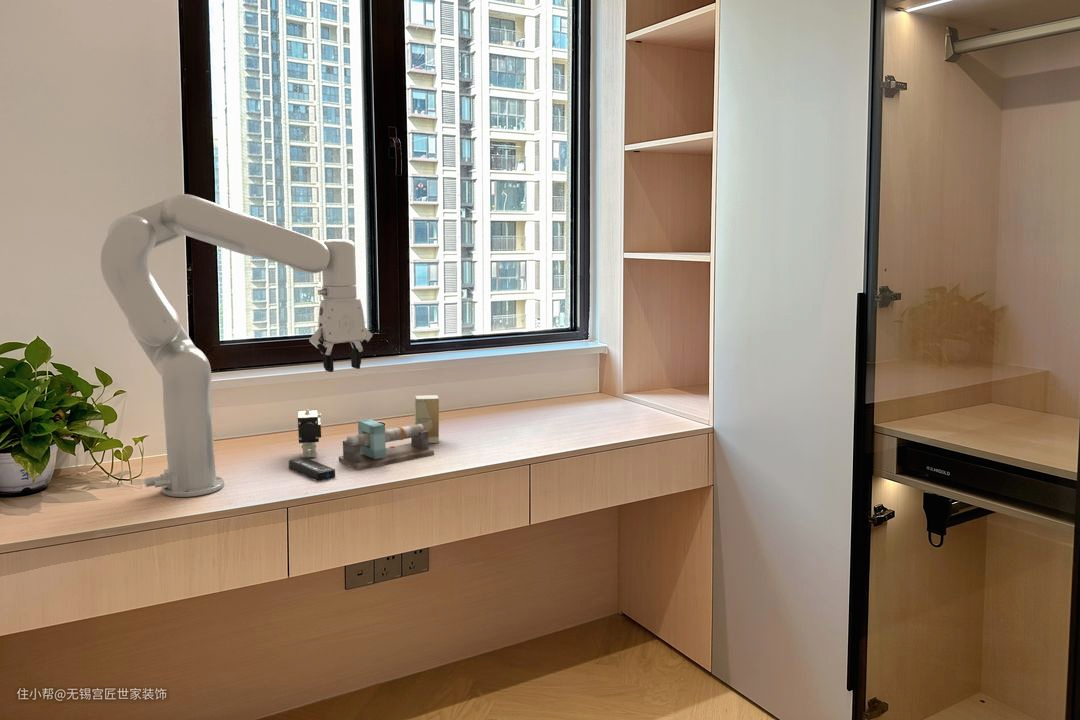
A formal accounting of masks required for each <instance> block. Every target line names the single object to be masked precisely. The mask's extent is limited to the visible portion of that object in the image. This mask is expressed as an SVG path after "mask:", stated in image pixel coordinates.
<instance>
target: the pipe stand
mask: <svg viewBox="0 0 1080 720" xmlns="http://www.w3.org/2000/svg"><path fill="white" fill-rule="evenodd" d="M410 438H411V441H410V443H405V444H400V445H391V446H389V447H386V457H383V458H378V459H373V458H371V457H369V456H367V455H364V454H362V453H360V447H363V446H369V445H370V433H366V434H360V435H358V434H355V435H350V436H347V437H346V440H343V441H342V456H341V455H340V456H338V461H339V462H341V463H342V464H345V465H347V466H349V467H351V468H353V469H355V470H358V471H359V470H364V469H370V468H375V467H379V466H385V465H389V464H394V463H399V462H405V461H408V460H413V459H414V460H415V459H419V458H424V457H429V456H434V455H435V451H434V450H433V449H431V448H430V446H429V443H428V431H426V430H424V427H423V425H422V424H418V425H415V424H414V425H407V426H399V427H396V428H390V429H385V443H389V442H396V441H403V440H406V439H410Z"/></svg>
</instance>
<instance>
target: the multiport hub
mask: <svg viewBox="0 0 1080 720" xmlns="http://www.w3.org/2000/svg"><path fill="white" fill-rule="evenodd" d="M288 469H290V470H292V471H294V472H297V473H298V474H302V475H304V476H305V477H308V478H310V479H312V480H315V481H316V482H321V481H322V482H323V481H326V480H327V481H328V480H331V478H332V479H335V478H336V470H335V468H333V467H330V466H328V465H325V464H323V463H320V462H318V461H316V460H313V459H311V458H308V457H299V458H294V459H290V460H288Z"/></svg>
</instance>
